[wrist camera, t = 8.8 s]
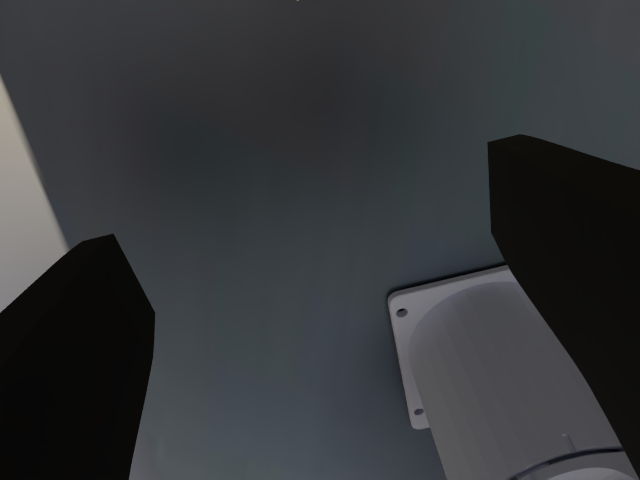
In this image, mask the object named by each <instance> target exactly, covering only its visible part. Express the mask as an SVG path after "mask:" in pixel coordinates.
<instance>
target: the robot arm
mask: <svg viewBox="0 0 640 480" xmlns="http://www.w3.org/2000/svg"><path fill="white" fill-rule="evenodd" d="M488 165H489V190H490V215H491V233H492V235H493V237H494V239H495V241H496V243H497V245H498V247H499V249H500V252H501V254H502V256H503V258H504V259H505V261H506V263H507V265H505V266H501V267H496V268H492V269H488V270H484V271H480V272H475V273H471V274H467V275H463V276H458V277H454V278H450V279H446V280H442V281H437V282H433V283H429V284H425V285H421V286H416V287H412V288H408V289H404V290H399V291H396V292H394V293H392V294H391V295H390V296H389V298H388V307H389V312H390V318H391V323H392V328H393V333H394V339H395V344H396V349H397V354H398V360H399V365H400V370H401V375H402V381H403V386H404V391H405V396H406V402H407V407H408V412H409V417H410V422H411V425H412V427H413V428H415V429H424V428H429V427H430V429H431V432H432V435H433V438H434V441H435V444H436V447H437V450H438V453H439V456H440V459H441V463H442V466H443V469H444V472H445V475H446V478H447V480H640V170H637V169H633V168H630V167H626V166H623V165H620V164H617V163H613V162H610V161H607V160H604V159H601V158H597V157H594V156H591V155H588V154H585V153H582V152H579V151H576V150H573V149H570V148H567V147H564V146H561V145H558V144H555V143H552V142H548V141H545V140H542V139H538V138H535V137H531V136H526V135H521V134H519V135H515V136H511V137H507V138H503V139H499V140H495V141H491V142H488ZM403 308H404V310H403V311H400V312H397V311H398V310H399V309H403ZM154 330H155V312H154V310H153V308H152V306H151V304H150V302H149V300H148V298H147V296H146V295H145V293H144V291H143V289H142V287H141V285H140V283H139V281H138V279H137V277H136V276H135V274H134V272H133V270H132V268H131V266H130V264H129V262H128V260H127V258H126V257H125V255H124V253H123V251H122V249H121V247H120V245H119V243H118V241H117V239H116V238H115V236H114V234H110V235H106V236H102V237H98V238H94V239H90V240H86V241H82V242H81V243H79V244H78V245H77V246H75V247H74V248H72V249H71V250H70V251H69V252H67V253H66V254H65V255H64V256H63V257H61V258H60V259H59V260H58V261H57V262H56V263H55V264H54V265H52V266H51V267H50V268H49V269H48V270H47V271H46V272H45V273H44V274H42V276H40V277H39V278H38V279H37V280H36V281H35V282H34V283H33V284H31V285H30V286H29V287H28V288H27V289H26V290H25V291H24V292H23V293H22V294H21V295H19V296H18V297H17V298H16V299H15V300H14V301H13V302H12V303H11V304H10V305H8V306H7V307H6V308H5V309H4V310H3V311H2V312H1V313H0V480H129V475H130V469H131V463H132V458H133V453H134V449H135V444H136V439H137V434H138V429H139V425H140V420H141V415H142V410H143V406H144V401H145V396H146V391H147V386H148V381H149V376H150V371H151V365H152V360H153V349H154Z"/></svg>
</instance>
